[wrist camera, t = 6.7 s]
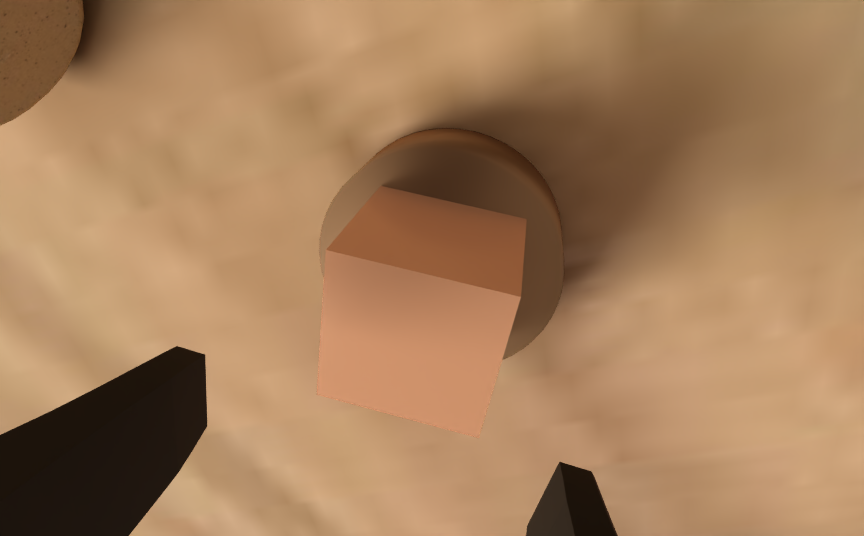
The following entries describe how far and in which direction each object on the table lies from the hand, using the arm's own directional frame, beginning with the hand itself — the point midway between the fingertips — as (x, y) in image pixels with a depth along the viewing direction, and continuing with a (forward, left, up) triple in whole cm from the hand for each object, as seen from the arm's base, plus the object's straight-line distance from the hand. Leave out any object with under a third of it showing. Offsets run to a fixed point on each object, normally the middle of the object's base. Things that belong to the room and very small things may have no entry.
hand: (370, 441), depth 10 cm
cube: (0, 0, -7) cm, 7 cm away
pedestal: (0, 0, -10) cm, 10 cm away
